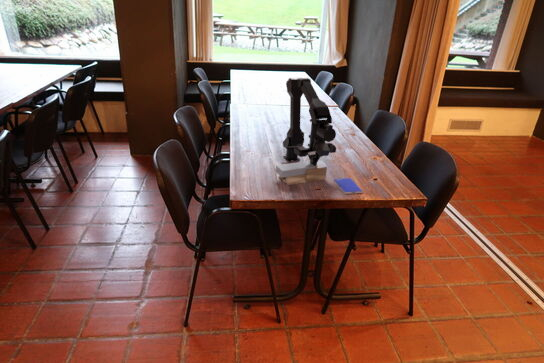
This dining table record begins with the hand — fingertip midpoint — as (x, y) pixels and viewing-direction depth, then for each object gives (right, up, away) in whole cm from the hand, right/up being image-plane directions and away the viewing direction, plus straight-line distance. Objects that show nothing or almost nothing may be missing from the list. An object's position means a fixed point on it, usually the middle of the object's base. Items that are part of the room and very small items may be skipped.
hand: (313, 167), depth 164 cm
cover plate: (-8, -2, -3) cm, 9 cm away
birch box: (-5, -5, 0) cm, 7 cm away
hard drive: (+14, -9, -5) cm, 18 cm away
